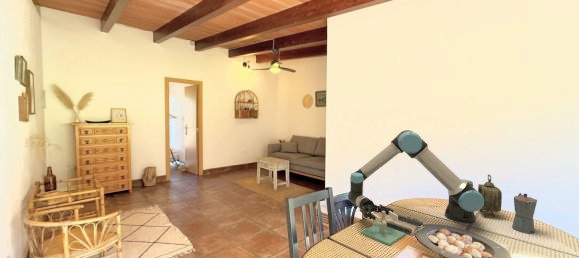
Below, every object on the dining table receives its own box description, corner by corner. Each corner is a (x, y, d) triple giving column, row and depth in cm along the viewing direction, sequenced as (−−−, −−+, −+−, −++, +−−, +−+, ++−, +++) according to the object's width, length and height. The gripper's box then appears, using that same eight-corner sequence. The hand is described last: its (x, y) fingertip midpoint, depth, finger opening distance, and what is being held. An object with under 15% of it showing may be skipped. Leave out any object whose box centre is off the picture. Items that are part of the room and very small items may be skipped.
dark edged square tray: (398, 216, 157) (399, 212, 157) (427, 225, 144) (427, 221, 144) (382, 225, 145) (382, 220, 145) (412, 235, 132) (412, 231, 132)
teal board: (377, 225, 145) (377, 223, 145) (405, 235, 133) (405, 233, 133) (360, 234, 135) (360, 231, 135) (389, 246, 122) (389, 243, 122)
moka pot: (518, 234, 133) (520, 196, 132) (505, 222, 147) (506, 188, 146) (541, 237, 130) (544, 198, 128) (526, 224, 144) (528, 189, 143)
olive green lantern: (477, 209, 166) (478, 171, 165) (494, 212, 162) (496, 172, 161) (481, 218, 154) (483, 176, 152) (501, 220, 149) (503, 178, 148)
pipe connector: (395, 235, 128) (395, 216, 127) (374, 233, 130) (374, 214, 129) (391, 226, 138) (392, 208, 137) (372, 225, 139) (372, 207, 139)
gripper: (381, 208, 153) (407, 224, 132) (347, 212, 148) (369, 229, 126) (381, 196, 153) (407, 210, 131) (347, 199, 147) (369, 214, 126)
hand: (388, 219), depth 129 cm, fingers closed on pipe connector, 9 cm apart
